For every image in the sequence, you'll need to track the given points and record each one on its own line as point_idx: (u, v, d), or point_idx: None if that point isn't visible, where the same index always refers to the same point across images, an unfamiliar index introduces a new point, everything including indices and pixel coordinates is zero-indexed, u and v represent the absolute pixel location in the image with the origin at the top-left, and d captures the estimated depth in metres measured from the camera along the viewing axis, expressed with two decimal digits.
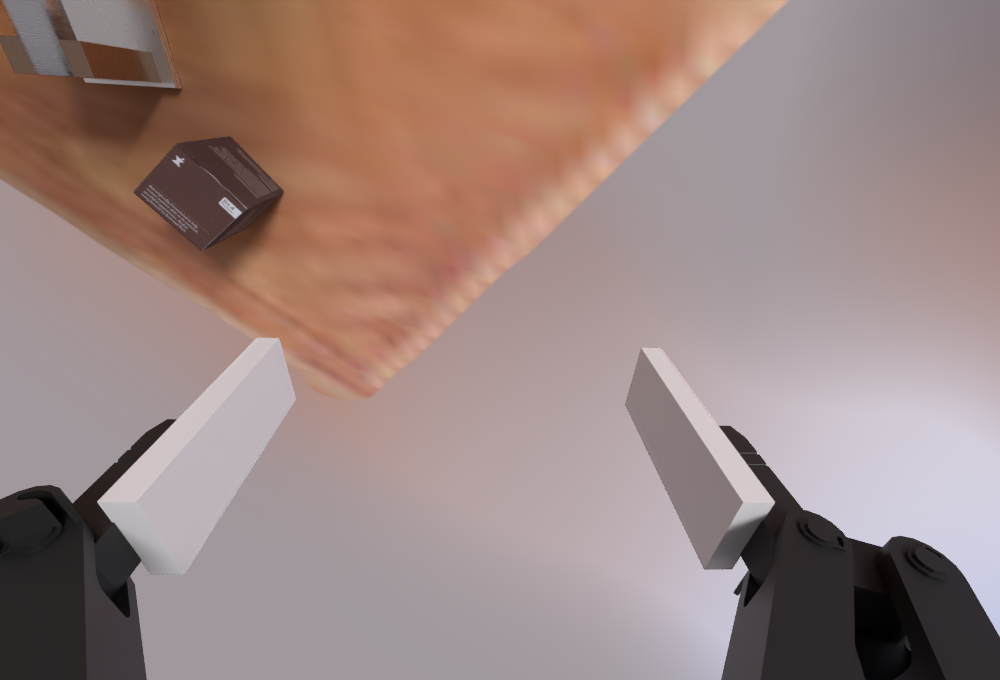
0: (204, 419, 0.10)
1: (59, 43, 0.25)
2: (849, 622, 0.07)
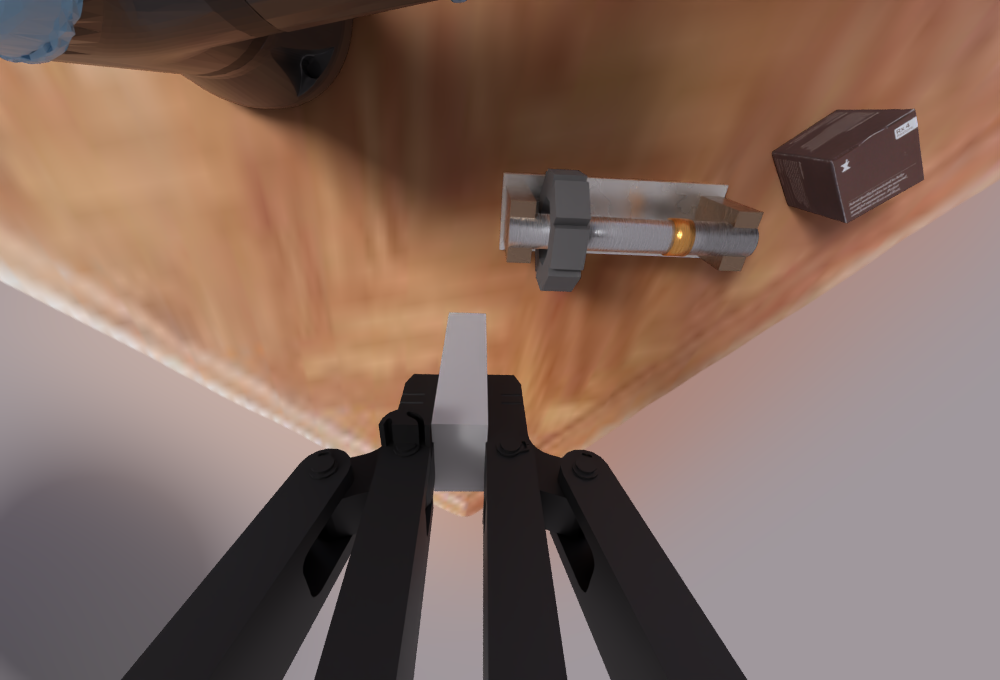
0: (459, 371, 0.12)
1: (737, 227, 0.32)
2: (538, 506, 0.08)
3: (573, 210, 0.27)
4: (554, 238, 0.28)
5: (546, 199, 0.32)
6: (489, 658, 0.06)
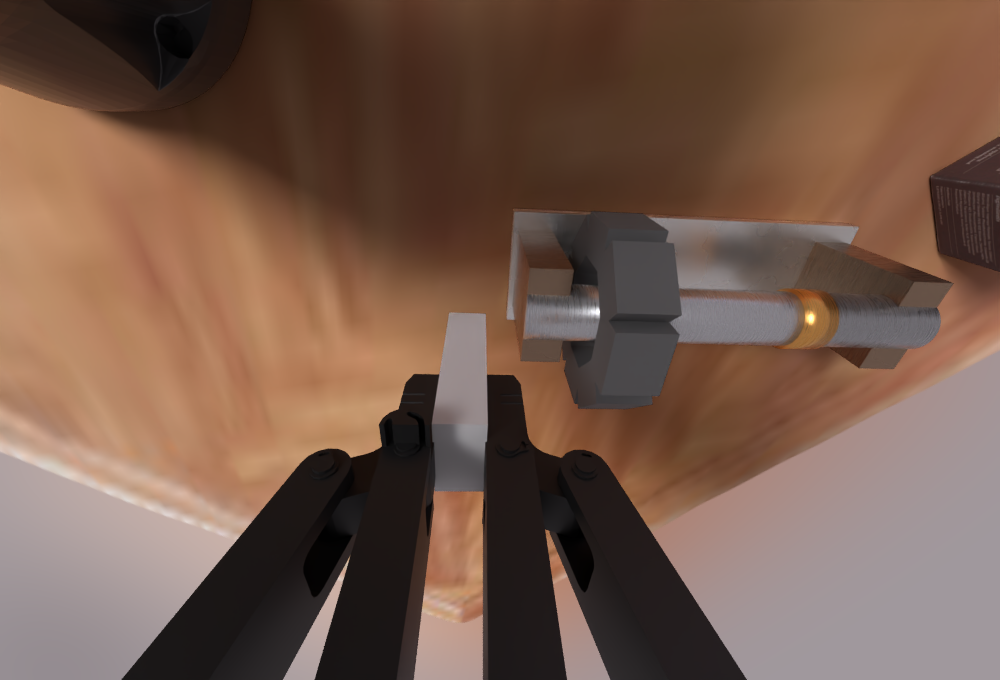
0: (459, 371, 0.12)
1: (904, 306, 0.19)
2: (538, 506, 0.08)
3: (648, 298, 0.15)
4: (612, 348, 0.15)
5: (586, 259, 0.19)
6: (489, 658, 0.06)
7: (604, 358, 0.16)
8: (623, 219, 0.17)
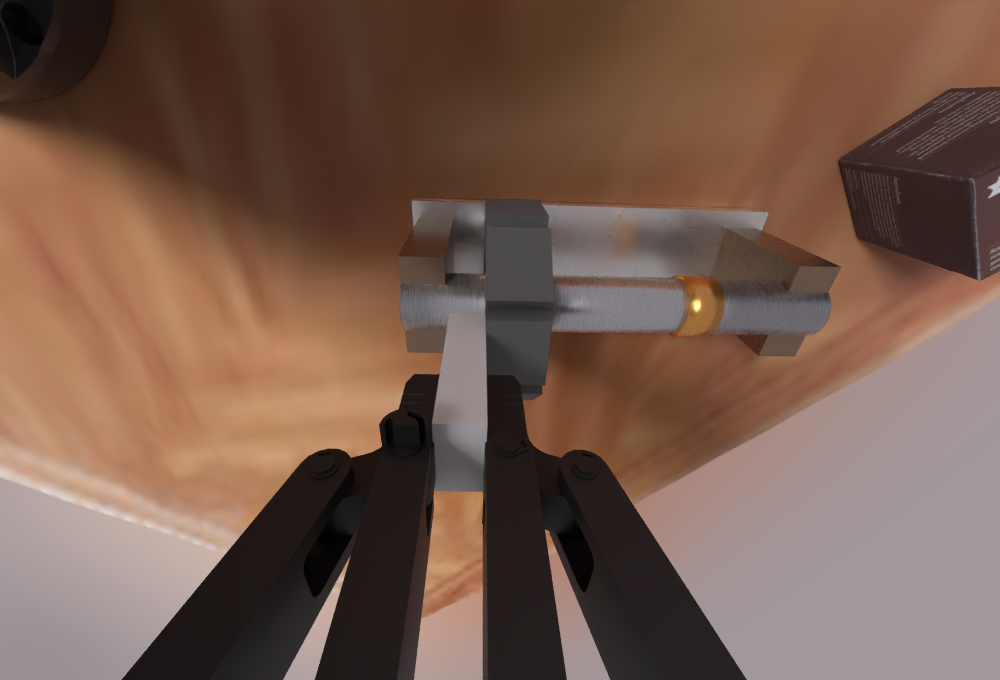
0: (460, 371, 0.12)
1: (793, 292, 0.19)
2: (538, 506, 0.08)
3: (519, 284, 0.14)
4: (486, 337, 0.15)
5: None
6: (489, 658, 0.06)
7: None
8: (512, 205, 0.17)
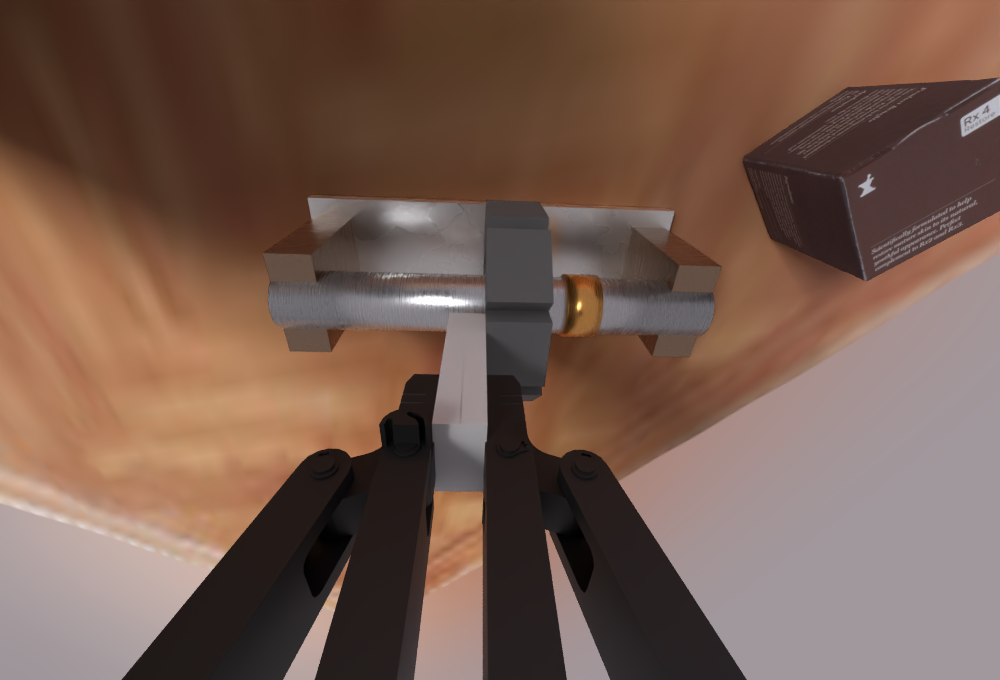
0: (460, 371, 0.12)
1: (677, 291, 0.18)
2: (537, 506, 0.08)
3: (520, 286, 0.15)
4: (486, 338, 0.15)
5: None
6: (488, 658, 0.06)
7: None
8: (512, 207, 0.17)
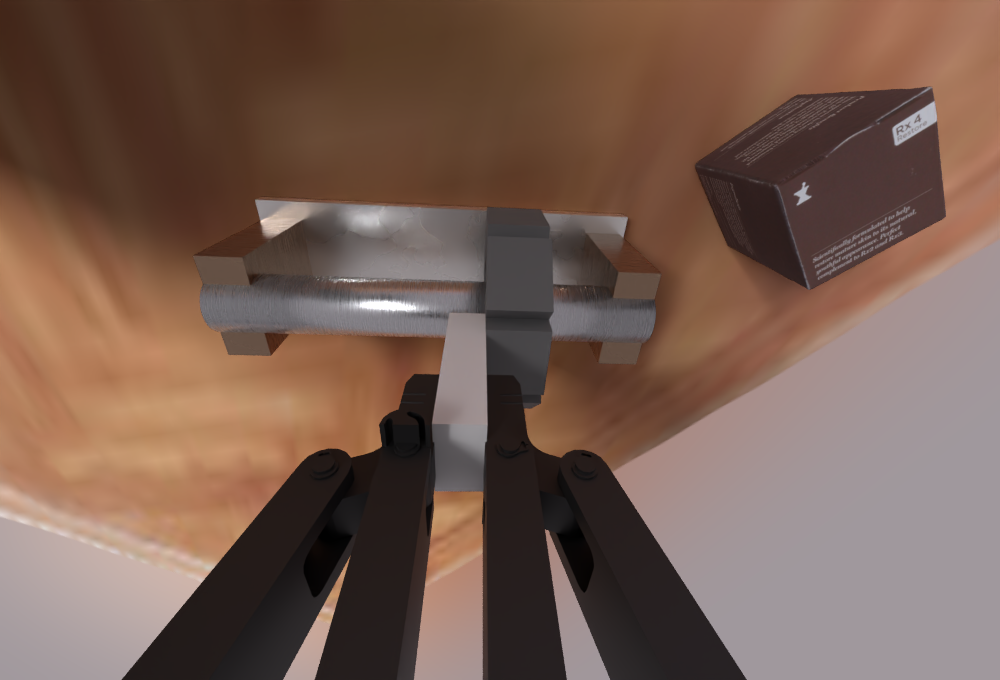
0: (460, 371, 0.12)
1: (618, 298, 0.18)
2: (537, 506, 0.08)
3: (520, 294, 0.14)
4: (486, 346, 0.15)
5: None
6: (489, 658, 0.06)
7: None
8: (513, 215, 0.17)
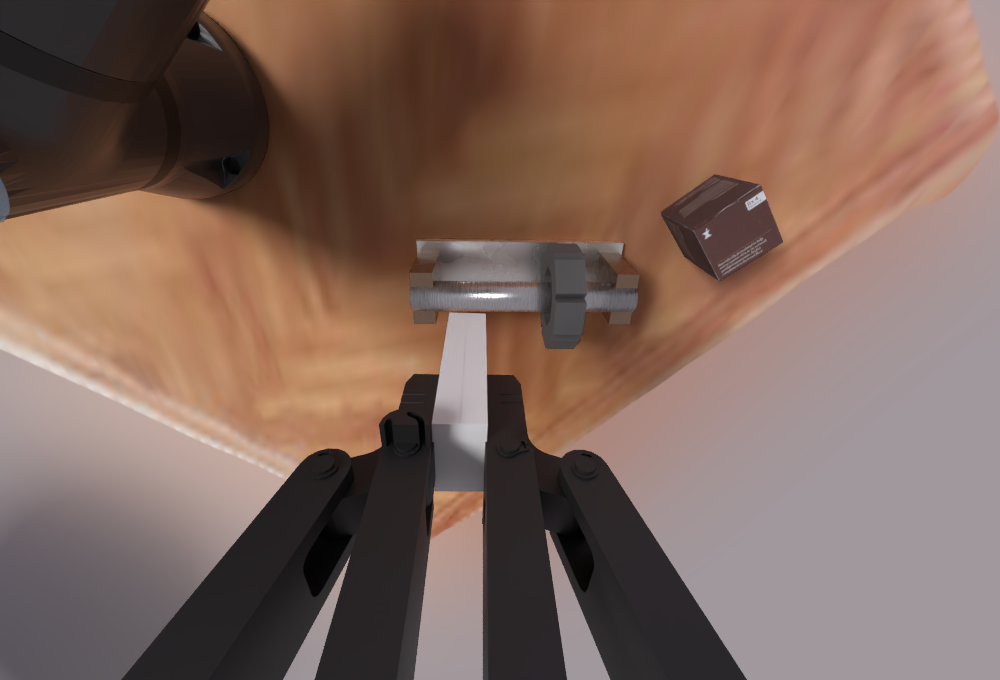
0: (459, 371, 0.12)
1: (618, 288, 0.35)
2: (538, 506, 0.08)
3: (571, 286, 0.32)
4: (555, 310, 0.32)
5: (548, 268, 0.36)
6: (489, 658, 0.06)
7: (553, 316, 0.33)
8: (564, 247, 0.34)
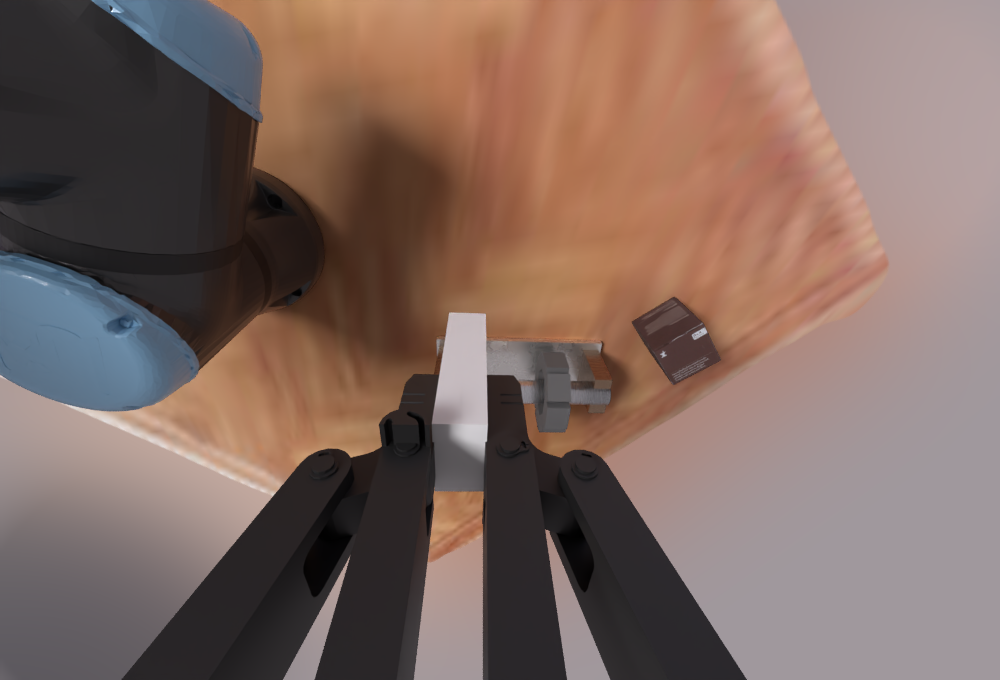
0: (460, 371, 0.12)
1: (595, 388, 0.45)
2: (538, 506, 0.08)
3: (559, 395, 0.41)
4: (547, 413, 0.42)
5: (542, 369, 0.46)
6: (489, 658, 0.06)
7: (545, 415, 0.43)
8: (554, 359, 0.44)
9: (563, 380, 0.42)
